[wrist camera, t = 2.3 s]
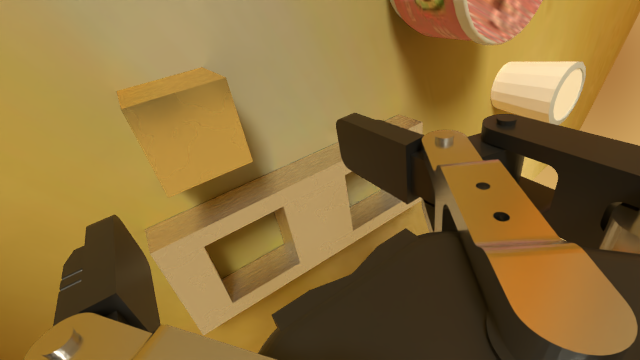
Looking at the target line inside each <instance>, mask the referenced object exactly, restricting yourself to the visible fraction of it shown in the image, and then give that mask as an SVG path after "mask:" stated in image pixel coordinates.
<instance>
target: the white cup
mask: <svg viewBox="0 0 640 360" xmlns="http://www.w3.org/2000/svg"><path fill="white" fill-rule="evenodd" d="M585 77H586V67H585V65H584V63H583V62H509V63H507V64H505V65H504V66H503V67H502V68H501V70H500V71H499V72H498V74H497V76H496V78H495V80H494V83H493V86H492V90H491V102H492V105H493V106H494V107H495V108H498V109H501V110H504V111H507V112H510V113H513V114H516V115H520V116H523V117H527V118H531V119H535V120H539V121H543V122H547V123H551V124H555V125H559V124H560V123H562V122H563V121H564V120H565V119H566V118H567V117H568V115H569V114H570V113H571V112H572V110H573V108H574V106H575V105H576V103H577V101H578V99H579V96H580V94H581V91H582V89H583V85H584V81H585Z"/></svg>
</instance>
